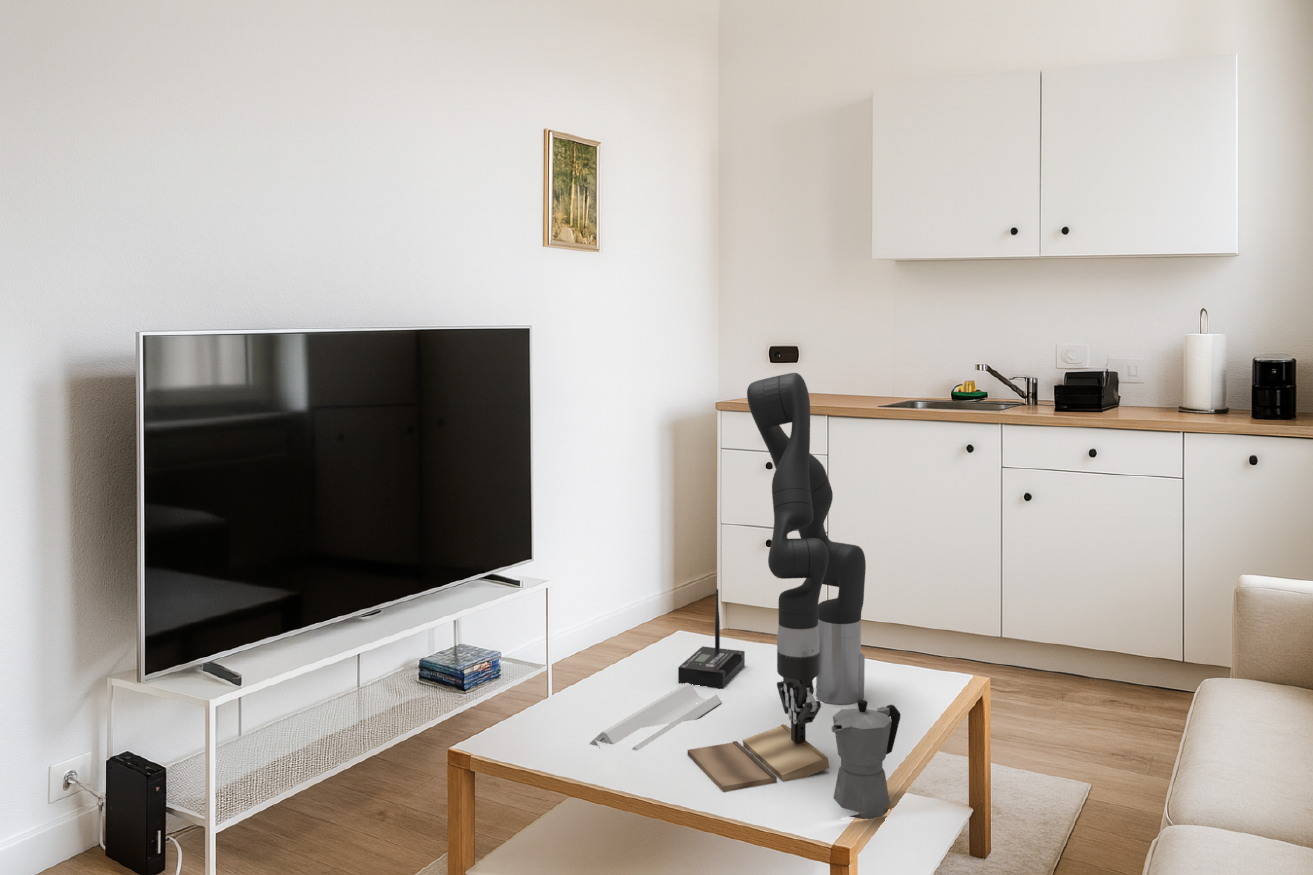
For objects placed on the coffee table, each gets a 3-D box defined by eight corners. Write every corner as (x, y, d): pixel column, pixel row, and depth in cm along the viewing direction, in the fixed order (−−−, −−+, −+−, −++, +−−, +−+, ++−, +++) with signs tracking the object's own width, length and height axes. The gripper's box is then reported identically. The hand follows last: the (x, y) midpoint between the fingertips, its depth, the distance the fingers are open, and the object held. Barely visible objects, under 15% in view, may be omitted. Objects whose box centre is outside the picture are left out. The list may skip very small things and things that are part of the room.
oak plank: (744, 749, 189) (742, 739, 188) (786, 733, 192) (785, 723, 191) (783, 785, 174) (781, 774, 173) (829, 767, 177) (827, 756, 176)
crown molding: (640, 760, 187) (639, 741, 186) (587, 747, 193) (587, 728, 193) (721, 705, 213) (721, 689, 213) (672, 696, 219) (672, 679, 219)
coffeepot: (854, 829, 159) (855, 718, 157) (811, 806, 167) (812, 700, 165) (919, 802, 168) (921, 696, 166) (876, 781, 175) (878, 681, 174)
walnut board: (737, 751, 188) (737, 740, 188) (776, 788, 173) (776, 775, 173) (687, 760, 185) (687, 748, 185) (723, 797, 170) (723, 785, 170)
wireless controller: (730, 690, 221) (730, 614, 219) (671, 683, 226) (670, 608, 224) (756, 662, 239) (756, 591, 237) (701, 656, 245) (700, 586, 243)
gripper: (835, 656, 176) (834, 752, 178) (799, 635, 189) (799, 725, 191) (796, 662, 174) (796, 759, 176) (763, 640, 186) (763, 730, 188)
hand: (798, 741), depth 183 cm, fingers closed
